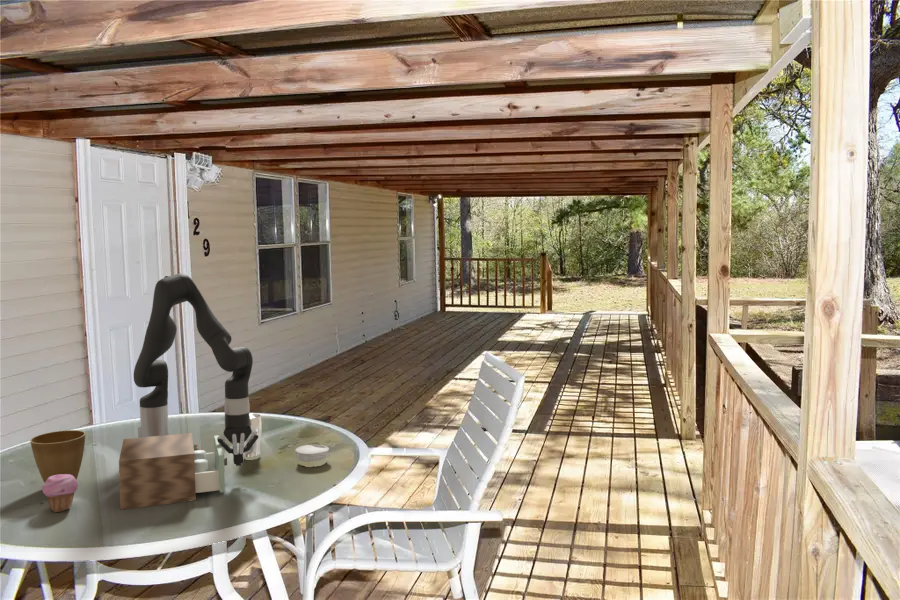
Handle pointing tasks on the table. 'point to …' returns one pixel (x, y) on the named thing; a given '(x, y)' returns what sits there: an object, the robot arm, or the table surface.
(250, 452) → the beer glass
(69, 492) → the cupcake
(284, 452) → the table surface
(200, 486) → the drawer
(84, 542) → the table surface
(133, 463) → the wooden drawer cabinet
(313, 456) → the ramekin
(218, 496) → the table surface
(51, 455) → the plant pot
